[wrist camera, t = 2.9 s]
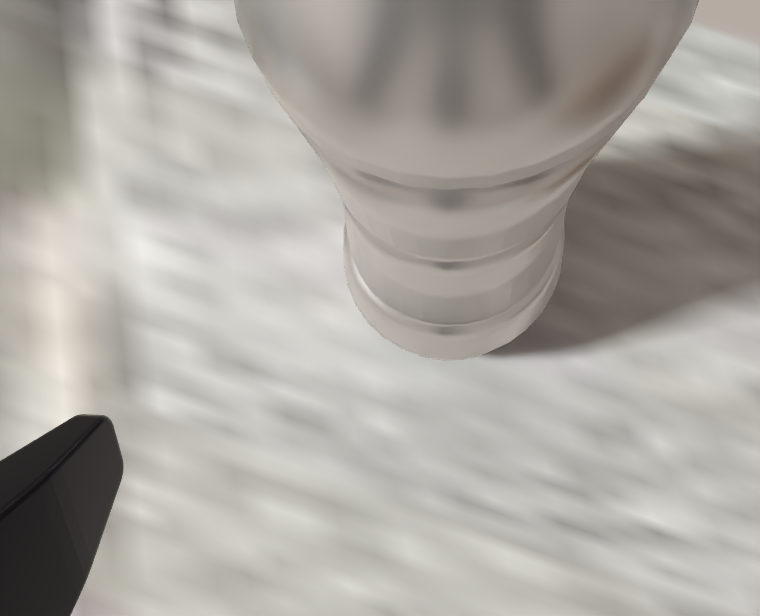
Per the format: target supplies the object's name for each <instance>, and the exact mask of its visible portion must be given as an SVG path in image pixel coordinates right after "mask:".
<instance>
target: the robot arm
mask: <svg viewBox="0 0 760 616" xmlns="http://www.w3.org/2000/svg"><path fill="white" fill-rule="evenodd" d="M122 475H123V459H122V455H121V451H120V448H119V444H118V440H117V437H116V433H115V430H114V426H113V423H112V421H111V420H110V418H108V417H107V416H104V415H87V414H82V415H76V416H75V417H73V418H71V419H69V420H68V421H66V422H64V423H63V424H61V425H59V426H58V427H56V428H54V429H53V430H51V431H49V432H48V433H46V434H44V435H43V436H41V437H39V438H38V439H36V440H34V441H33V442H31V443H29V444H28V445H26V446H24V447H23V448H21V449H19V450H18V451H16V452H14V453H13V454H11V455H9V456H8V457H6V458H5V459H3V460H1V461H0V616H70V615H71V613H72V611H73V609H74V607H75V604H76V602H77V600H78V598H79V596H80V594H81V591H82V589H83V587H84V584H85V582H86V580H87V577H88V575H89V572H90V569H91V567H92V564H93V561H94V558H95V555H96V552H97V549H98V547H99V544H100V541H101V538H102V535H103V532H104V529H105V526H106V523H107V520H108V517H109V515H110V512H111V509H112V506H113V503H114V500H115V497H116V494H117V491H118V488H119V485H120V482H121V479H122Z"/></svg>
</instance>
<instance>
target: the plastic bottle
mask: <svg viewBox="0 0 760 616" xmlns="http://www.w3.org/2000/svg"><path fill="white" fill-rule="evenodd" d="M698 2H699V0H234V3H235V9H236V16H237V21H238V24H239V26H240V29H241V31H242V33H243V36H244V38H245V41H246V43H247V46H248V48H249V50H250V53H251V55H252V58H253V60H254V61H255V63H256V65H257V66H258V68H259V70H260V72H261V73H262V75H263V77H264V79H265V81H266V83H267V85H268V87H269V89H270V90H271V92H272V94H273V95H274V96H275V98H276V99H277V101H278V102H279V104H280V105H281V106H282V108H283V109H284V111H285V112H286V113H287V115H288V116H289V118H290V119H291V120H292V122H293V123H294V124H295V125H296V126H297V128H298V129H299V131H300V132H301V133H302V135H303V136H304V137H305V139H306V140H307V142H308V143H309V144H310V146H311V147H312V148H313V150H314V151H315V153H316V154H317V155H318V157H319V158H320V160H321V161H322V162H323V164H324V165H325V166H326V168H327V170H328V172H329V174H330V176H331V178H332V180H333V183H334V185H335V187H336V189H337V191H338V193H339V196H340V198H341V199H342V201H343V206H344V213H345V226H344V249H343V250H344V268H345V273H346V279H347V284H348V287H349V290H350V292H351V295H352V297H353V300H354V302H355V304H356V306H357V307H358V309H359V310H360V312H361V313H362V315H363V316H364V318H365V319H366V321H367V322H368V323H369V324H370V325H371V326H372V327H373V328H374V329H375V330H376V331H377V332H378V333H379V334H380V335H381V336H382V337H384V338H386V339H387V340H389V341H390V342H392V343H394V344H395V345H397V346H398V347H400V348H402V349H404V350H406V351H409V352H411V353H414V354H417V355H419V356H422V357H425V358H432V359H438V360H464V359H468V358H472V357H476V356H480V355H483V354H486V353H488V352H490V351H492V350H494V349H497V348H499V347H501V346H503V345H505V344H507V343H509V342H510V341H512V340H513V339H514V338H516V337H517V336H519V335H520V334H521V333H523V332H524V331H525V330H527V329H528V327H529V326H530V325H531V324H532V323H533V322H534V321H535V320H536V319H537V318H538V317H539V315H540V314H541V313H542V312H543V310H544V308H545V307H546V305H547V303H548V302H549V300H550V298H551V297H552V295H553V293H554V290H555V287H556V284H557V282H558V279H559V276H560V272H561V265H562V258H563V251H564V242H565V229H564V217H565V213H566V208H567V203H568V201H569V199H570V197H571V195H572V193H573V191H574V189H575V187H576V186H577V184H578V183H579V181H580V179H581V177H582V175H583V173H584V172H585V170H586V168H587V167H588V165H589V164H590V163H591V162H592V160H593V159H594V158H595V157H596V156H597V154H598V153H599V152H600V151H601V149H602V148H603V147H604V146H605V145H606V143H607V142H608V141H609V140H610V138H611V137H612V136H613V135H614V134H615V132H616V131H617V130H618V129H619V127H620V126H621V125H622V124H623V123H624V121H625V120H626V119H627V118H628V116H629V115H630V114H631V113H632V111H633V110H634V109H635V107H636V106H637V105H638V104H639V103H640V102H641V101H642V100H643V99H644V98H645V96H646V94H647V93H648V91H649V89H650V88H651V86H652V85H653V83H654V81H655V80H656V78H657V76H658V75H659V73H660V72H661V71H662V69H663V68H664V66H665V65H666V63H667V61H668V60H669V58H670V57H671V55H672V53H673V52H674V50H675V48H676V47H677V45H678V44H679V42H680V40H681V39H682V37H683V35H684V34H685V32H686V31H687V29H688V27H689V26H690V24H691V22H692V19H693V16H694V14H695V11H696V8H697V5H698Z"/></svg>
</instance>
